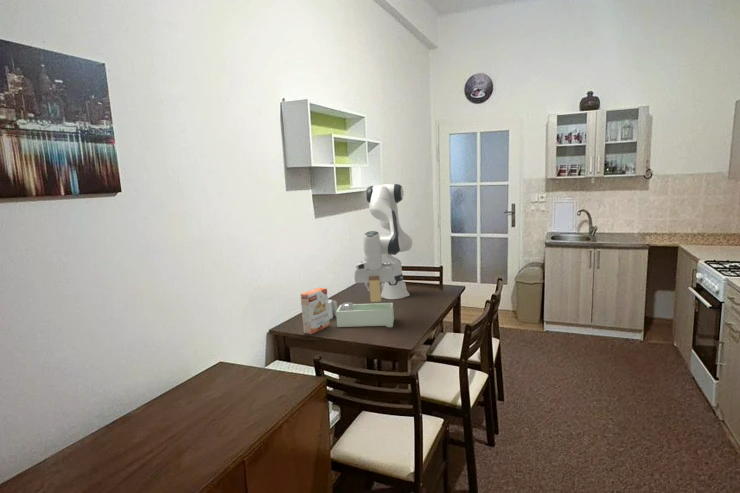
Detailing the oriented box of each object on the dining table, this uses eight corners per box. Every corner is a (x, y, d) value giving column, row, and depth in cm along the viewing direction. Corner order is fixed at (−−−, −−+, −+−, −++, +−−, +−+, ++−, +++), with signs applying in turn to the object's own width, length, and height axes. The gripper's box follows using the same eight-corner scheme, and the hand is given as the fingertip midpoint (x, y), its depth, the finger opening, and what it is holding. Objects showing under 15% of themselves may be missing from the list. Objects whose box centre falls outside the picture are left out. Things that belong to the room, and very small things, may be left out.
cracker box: (312, 336, 216) (308, 294, 212) (303, 334, 219) (299, 293, 216) (330, 327, 227) (327, 287, 224) (321, 325, 230) (318, 286, 227)
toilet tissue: (311, 319, 243) (309, 301, 241) (331, 314, 248) (329, 297, 246) (317, 324, 233) (316, 305, 232) (338, 319, 239) (337, 301, 237)
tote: (341, 321, 236) (340, 304, 234) (393, 319, 232) (392, 302, 231) (337, 328, 224) (336, 311, 222) (392, 327, 220) (391, 309, 219)
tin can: (344, 320, 232) (342, 302, 231) (355, 320, 231) (353, 302, 230) (342, 324, 226) (340, 306, 225) (353, 324, 226) (352, 305, 224)
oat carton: (371, 299, 228) (369, 274, 226) (381, 298, 227) (379, 274, 225) (370, 301, 223) (368, 276, 221) (380, 301, 222) (378, 276, 220)
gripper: (394, 261, 224) (396, 288, 226) (354, 263, 227) (356, 289, 229) (393, 264, 218) (395, 291, 220) (352, 266, 220) (355, 292, 223)
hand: (375, 290), depth 224 cm, fingers closed on oat carton, 5 cm apart
